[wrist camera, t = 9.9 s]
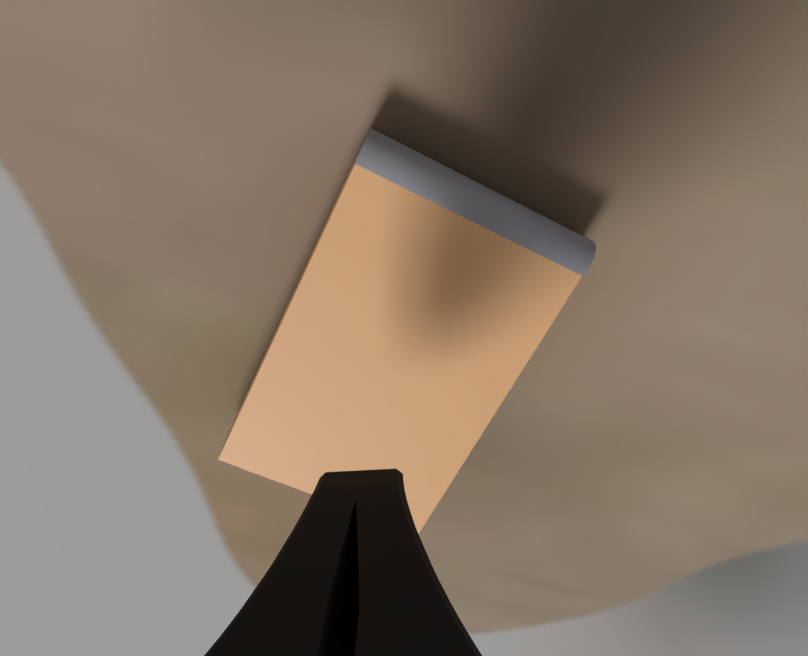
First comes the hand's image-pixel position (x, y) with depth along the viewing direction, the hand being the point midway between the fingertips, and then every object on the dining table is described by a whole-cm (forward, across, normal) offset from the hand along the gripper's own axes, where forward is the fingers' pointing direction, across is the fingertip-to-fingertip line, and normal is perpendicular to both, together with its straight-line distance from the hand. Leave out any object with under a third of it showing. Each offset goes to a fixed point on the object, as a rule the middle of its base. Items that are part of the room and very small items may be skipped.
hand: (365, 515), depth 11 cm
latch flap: (+4, -1, -1) cm, 4 cm away
